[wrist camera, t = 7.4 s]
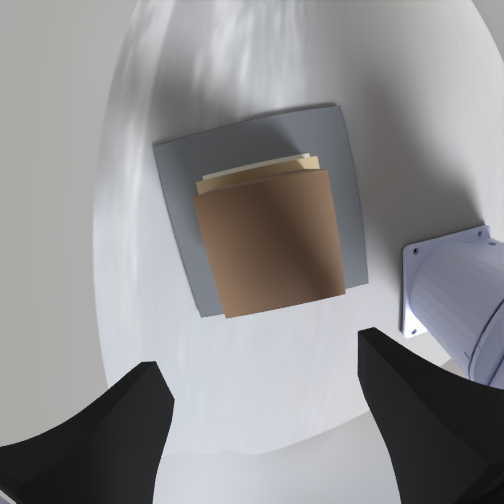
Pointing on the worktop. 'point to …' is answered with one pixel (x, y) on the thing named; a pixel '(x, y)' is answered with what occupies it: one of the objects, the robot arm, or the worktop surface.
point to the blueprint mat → (252, 156)
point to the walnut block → (272, 241)
